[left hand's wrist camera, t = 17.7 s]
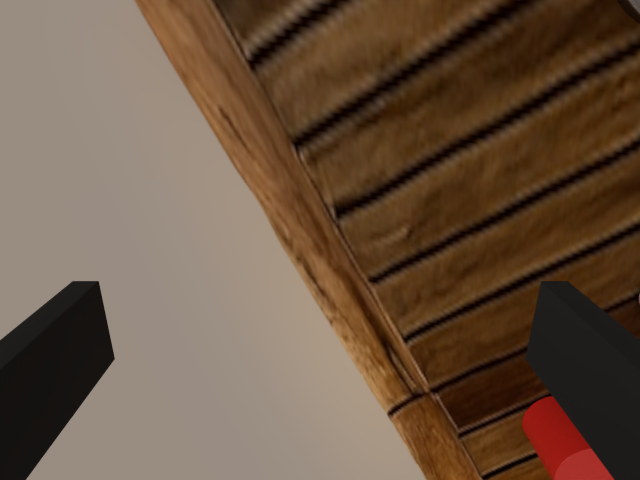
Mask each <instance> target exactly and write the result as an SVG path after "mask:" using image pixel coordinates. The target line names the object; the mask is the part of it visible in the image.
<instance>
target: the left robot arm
mask: <svg viewBox="0 0 640 480" xmlns="http://www.w3.org/2000/svg"><path fill="white" fill-rule="evenodd" d="M618 1H619V3H620V4H621V6H622V7H623V8H624V10H625V11H626V12H627V13H628V14H629V15H630V16H632V17H633V18H634V19H635V20H637V21H639V22H640V0H618ZM114 359H115V358H114V353H113V349H112V343H111V339H110V334H109V329H108V324H107V319H106V315H105V310H104V305H103V300H102V295H101V291H100V286H99V282H98V281H73V282H71V283H70V284H69V285H68V286H66V287H65V288H64V289H63V290H61V291H60V292H59V293H58V294H57V295H55V296H54V297H53V298H52V299H50V300H49V301H48V302H47V303H46V304H44V305H43V306H42V307H41V308H39V309H38V310H37V311H36V312H34V313H33V314H32V315H31V316H30V317H28V318H27V319H26V320H25V321H23V322H22V323H21V324H20V325H18V326H17V327H16V328H15V329H14V330H12V331H11V332H10V333H9V334H7V335H6V336H5V337H4V338H3V339H1V340H0V480H26V479H27V477H28V476H29V475H30V473H31V472H32V471H33V469H34V468H35V466H36V465H37V464H38V462H39V461H40V460H41V458H42V457H43V456H44V454H45V453H46V452H47V450H48V449H49V447H50V446H51V445H52V443H53V442H54V441H55V439H56V438H57V437H58V435H59V434H60V433H61V431H62V430H63V428H64V427H65V426H66V424H67V423H68V422H69V420H70V419H71V418H72V416H73V415H74V414H75V412H76V411H77V409H78V408H79V407H80V405H81V404H82V403H83V401H84V400H85V399H86V397H87V396H88V394H89V393H90V392H91V390H92V389H93V388H94V386H95V385H96V384H97V382H98V381H99V380H100V378H101V377H102V375H103V374H104V373H105V371H106V370H107V369H108V367H109V366H110V365H111V363H112V362H113V361H114ZM525 359H526V361H527V362H528V363H529V365H530V366H531V367H532V369H533V370H534V371H535V373H536V374H537V376H538V377H539V378H540V380H541V381H542V382H543V384H544V385H545V386H546V388H547V389H548V390H549V392H550V393H551V395H552V396H553V397H554V399H555V400H556V401H557V403H558V404H559V405H560V407H561V408H562V409H563V411H564V412H565V414H566V415H567V416H568V418H569V419H570V420H571V422H572V423H573V424H574V426H575V427H576V428H577V430H578V431H579V433H580V434H581V435H582V437H583V438H584V439H585V441H586V442H587V443H588V445H589V446H590V447H591V449H592V450H593V452H594V453H595V454H596V456H597V457H598V458H599V460H600V461H601V462H602V464H603V465H604V466H605V468H606V469H607V471H608V472H609V473H610V475H611V476H612V477H613V479H614V480H640V340H639V339H638V338H636V337H635V336H634V335H633V334H631V333H630V332H629V331H628V330H626V329H625V328H624V327H623V326H622V325H620V324H619V323H618V322H617V321H615V320H614V319H613V318H612V317H610V316H609V315H608V314H607V313H606V312H604V311H603V310H602V309H601V308H599V307H598V306H597V305H596V304H595V303H593V302H592V301H591V300H590V299H588V298H587V297H586V296H585V295H583V294H582V293H581V292H580V291H579V290H577V289H576V288H575V287H574V286H572V285H571V284H570V283H569V282H567V281H541V286H540V290H539V295H538V300H537V305H536V310H535V314H534V319H533V324H532V329H531V334H530V339H529V343H528V348H527V353H526V358H525Z"/></svg>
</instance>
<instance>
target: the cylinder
mask: <svg viewBox="0 0 640 480" xmlns="http://www.w3.org/2000/svg"><path fill="white" fill-rule="evenodd" d="M522 427H523V430H524V432H525V434H526V436H527V438H528V439H529V441H530V443H531V444H532V446H533V448H534V450H535V451H536V453H537V455H538V457H539V458H540V460H541V462H542V463H543V465H544V467H545V469H546V470H547V472H548V474H549V475H550V477H551V479H552V480H614V479H613V477H612V476H611V475H610V473H609V472H608V471H607V469H606V468H605V466H604V465H603V464H602V462H601V461H600V460H599V458H598V457H597V456H596V454H595V453H594V452H593V450H592V449H591V447H590V446H589V445H588V443H587V442H586V441H585V439H584V438H583V437H582V435H581V434H580V433H579V431H578V430H577V428H576V427H575V426H574V424H573V423H572V422H571V420H570V419H569V418H568V416H567V415H566V414H565V412H564V411H563V409H562V408H561V407H560V405H559V404H558V403H557V401H556V400H555V399H554V397H553V396H550V397H546V398H543V399H541V400H539V401H537V402H536V403H534V404H533V405H532V406H530V407H529V408H528V410H527V411H526V413H525V414H524V417H523V420H522Z"/></svg>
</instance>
